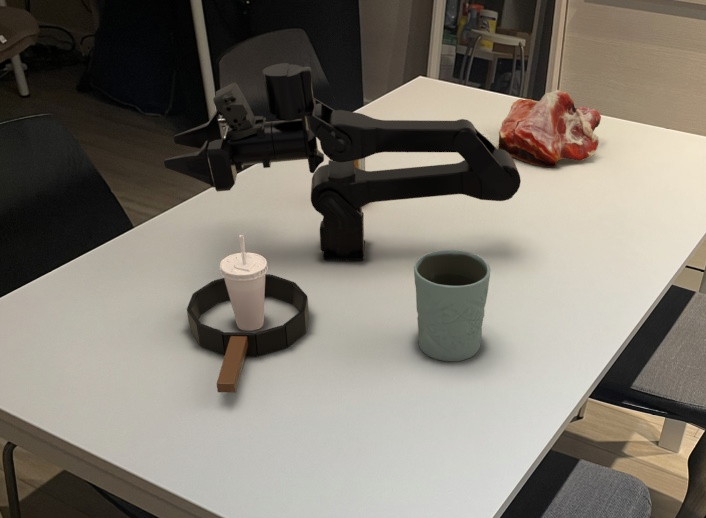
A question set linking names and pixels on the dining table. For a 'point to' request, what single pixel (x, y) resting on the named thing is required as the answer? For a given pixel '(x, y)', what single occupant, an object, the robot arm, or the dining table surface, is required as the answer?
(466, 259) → the grey-green cup
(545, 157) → the meat
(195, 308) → the pan
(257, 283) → the smoothie
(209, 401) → the dining table surface
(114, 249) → the dining table surface
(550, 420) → the dining table surface
